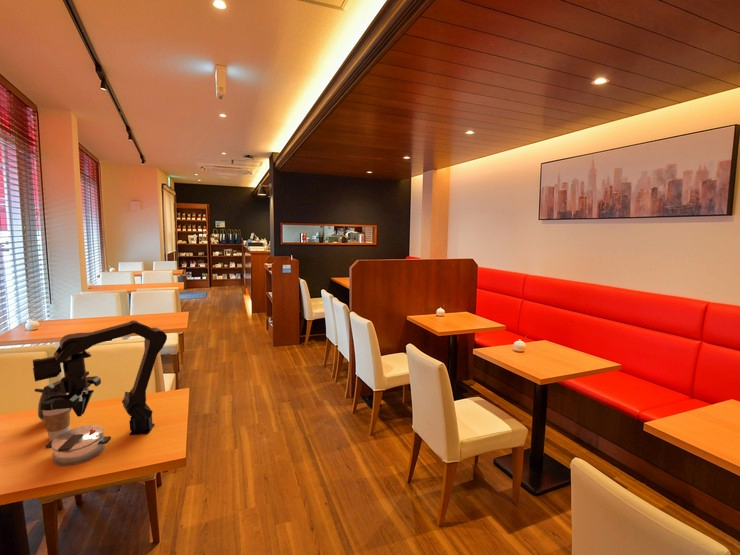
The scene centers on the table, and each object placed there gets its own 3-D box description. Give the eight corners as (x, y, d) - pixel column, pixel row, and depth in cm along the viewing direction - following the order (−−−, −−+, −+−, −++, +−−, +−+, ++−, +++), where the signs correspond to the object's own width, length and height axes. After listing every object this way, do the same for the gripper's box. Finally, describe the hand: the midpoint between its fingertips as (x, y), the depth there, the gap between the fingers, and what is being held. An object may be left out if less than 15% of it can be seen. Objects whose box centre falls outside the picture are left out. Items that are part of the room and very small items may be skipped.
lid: (111, 426, 137) (110, 421, 136) (88, 451, 122) (87, 446, 122) (68, 429, 134) (67, 424, 134) (39, 455, 120) (38, 450, 119)
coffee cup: (57, 444, 134) (52, 404, 132) (38, 441, 136) (33, 402, 133) (80, 431, 142) (75, 393, 140) (61, 428, 144) (56, 391, 142)
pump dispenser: (42, 417, 151) (37, 381, 149) (74, 411, 156) (70, 376, 154) (35, 430, 142) (30, 392, 140) (70, 423, 148) (65, 386, 145)
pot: (119, 438, 138) (118, 426, 137) (99, 463, 124) (97, 449, 123) (62, 443, 135) (61, 430, 134) (35, 468, 121) (33, 454, 120)
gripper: (64, 363, 134) (69, 404, 137) (28, 386, 116) (35, 433, 119) (99, 360, 136) (104, 401, 139) (69, 383, 118) (75, 429, 121)
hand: (80, 415), depth 129 cm, fingers closed
